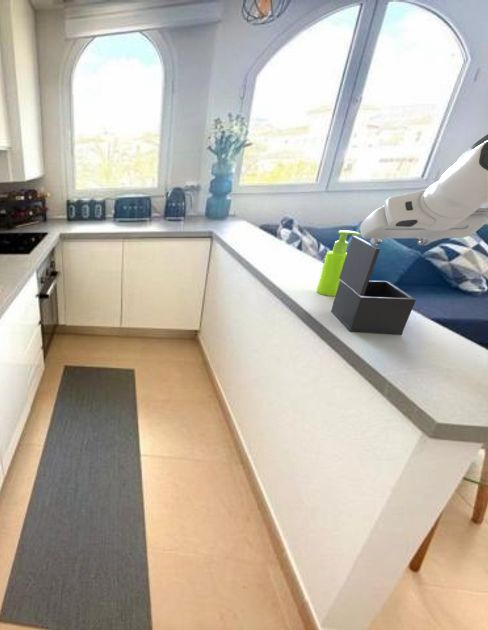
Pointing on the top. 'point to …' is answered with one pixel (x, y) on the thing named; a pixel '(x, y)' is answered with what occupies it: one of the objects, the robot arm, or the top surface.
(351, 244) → the box lid
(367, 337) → the top surface
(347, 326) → the grey box
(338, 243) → the soap dispenser
